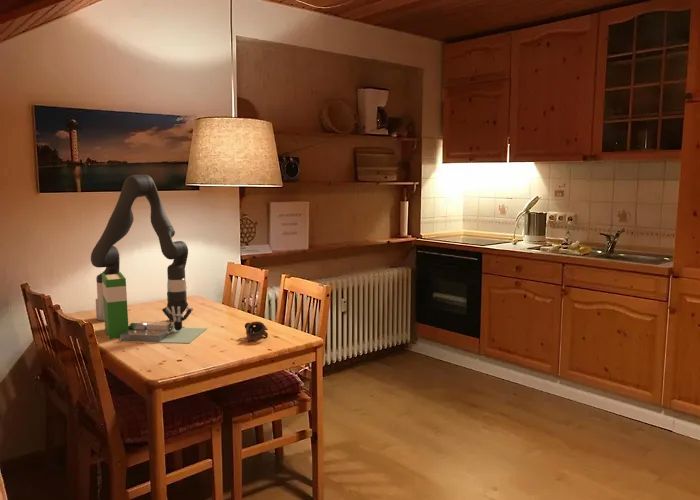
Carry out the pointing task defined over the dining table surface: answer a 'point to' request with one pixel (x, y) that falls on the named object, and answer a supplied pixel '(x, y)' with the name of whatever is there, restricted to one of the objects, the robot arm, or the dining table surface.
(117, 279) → the hardback book
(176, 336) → the mat
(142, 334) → the grey stepped block
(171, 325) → the pale grey flat block
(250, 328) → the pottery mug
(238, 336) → the dining table surface
